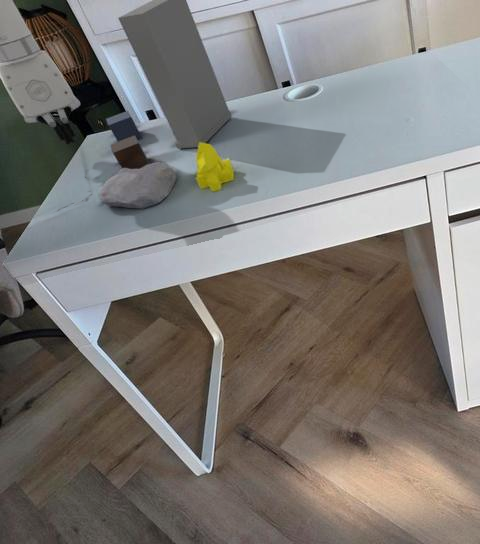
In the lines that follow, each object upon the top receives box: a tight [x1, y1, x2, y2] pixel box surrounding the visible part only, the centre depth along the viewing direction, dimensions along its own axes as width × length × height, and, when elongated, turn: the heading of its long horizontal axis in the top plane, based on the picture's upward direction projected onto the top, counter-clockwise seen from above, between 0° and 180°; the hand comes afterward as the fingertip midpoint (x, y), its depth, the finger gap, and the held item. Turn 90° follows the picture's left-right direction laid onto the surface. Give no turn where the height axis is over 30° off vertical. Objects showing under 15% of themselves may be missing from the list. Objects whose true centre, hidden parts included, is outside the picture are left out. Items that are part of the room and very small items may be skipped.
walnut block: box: [109, 135, 151, 169], centre depth 96 cm, size 5×5×5 cm
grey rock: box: [98, 161, 178, 210], centre depth 86 cm, size 12×5×10 cm
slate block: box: [105, 110, 143, 142], centre depth 109 cm, size 5×5×5 cm
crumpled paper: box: [195, 142, 235, 193], centre depth 84 cm, size 6×8×8 cm
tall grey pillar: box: [117, 0, 233, 150], centre depth 96 cm, size 14×6×25 cm, turn 165°
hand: (70, 141), depth 103 cm, fingers closed
